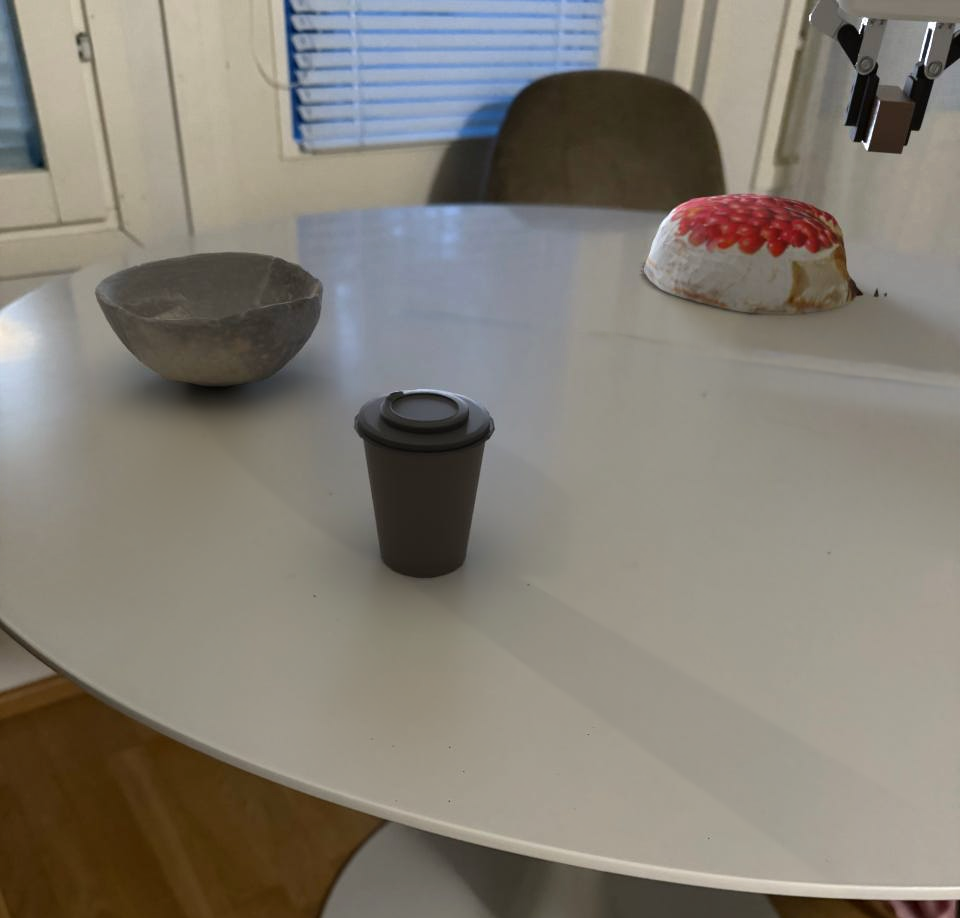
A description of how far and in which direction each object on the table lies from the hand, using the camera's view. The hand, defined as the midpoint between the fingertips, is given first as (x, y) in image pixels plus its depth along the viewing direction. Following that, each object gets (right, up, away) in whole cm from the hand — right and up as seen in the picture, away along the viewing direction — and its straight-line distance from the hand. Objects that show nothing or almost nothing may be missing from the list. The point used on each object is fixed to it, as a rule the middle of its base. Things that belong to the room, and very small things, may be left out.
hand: (877, 138), depth 66 cm
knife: (+1, +2, +3) cm, 4 cm away
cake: (+2, +3, +39) cm, 40 cm away
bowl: (-50, -12, +15) cm, 53 cm away
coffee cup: (-31, -30, -6) cm, 43 cm away
